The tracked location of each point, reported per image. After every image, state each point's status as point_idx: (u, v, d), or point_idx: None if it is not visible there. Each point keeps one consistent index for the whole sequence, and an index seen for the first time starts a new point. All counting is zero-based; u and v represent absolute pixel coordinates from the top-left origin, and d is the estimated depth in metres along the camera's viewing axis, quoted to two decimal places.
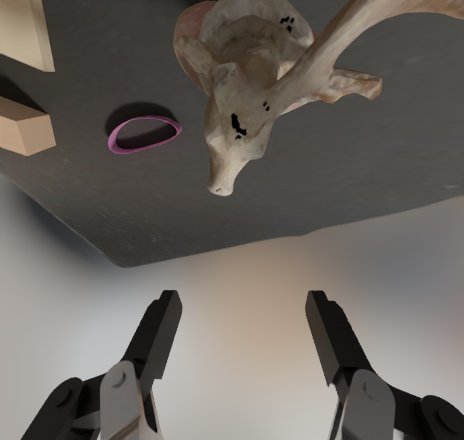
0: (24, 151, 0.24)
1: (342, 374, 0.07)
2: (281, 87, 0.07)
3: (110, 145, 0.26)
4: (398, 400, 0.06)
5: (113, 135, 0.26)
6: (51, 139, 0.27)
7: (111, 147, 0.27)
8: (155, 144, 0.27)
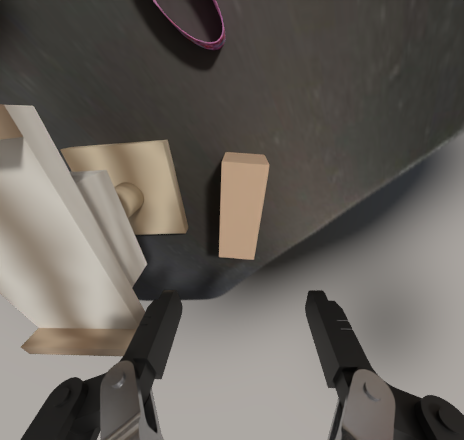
0: (263, 167, 0.17)
1: (342, 374, 0.07)
2: None
3: (216, 42, 0.15)
4: (398, 400, 0.06)
5: (201, 43, 0.15)
6: (255, 155, 0.20)
7: (220, 42, 0.15)
8: None
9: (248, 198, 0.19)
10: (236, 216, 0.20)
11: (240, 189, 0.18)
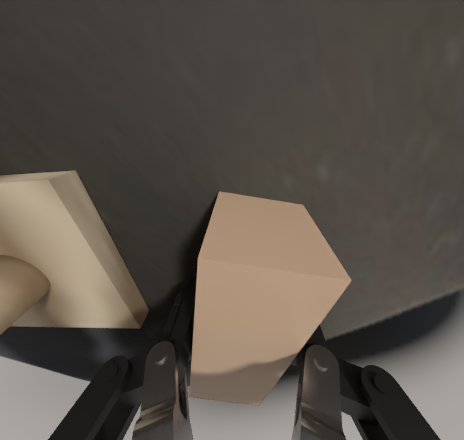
0: (329, 282, 0.05)
1: (300, 350, 0.08)
2: None
3: None
4: (345, 371, 0.07)
5: None
6: (287, 208, 0.09)
7: None
8: None
9: (266, 335, 0.07)
10: (232, 357, 0.08)
11: (247, 318, 0.06)
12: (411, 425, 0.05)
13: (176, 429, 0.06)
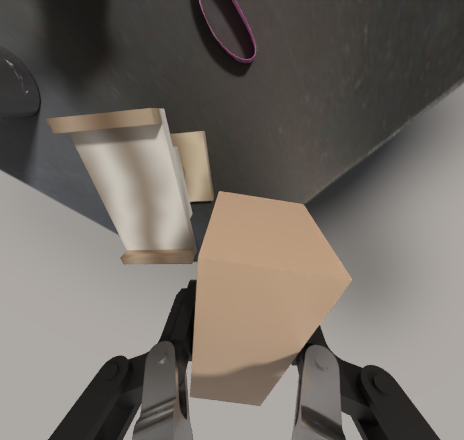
0: (330, 281, 0.05)
1: None
2: None
3: (250, 59, 0.24)
4: (345, 371, 0.07)
5: (240, 59, 0.24)
6: (287, 208, 0.09)
7: (252, 58, 0.24)
8: None
9: (267, 335, 0.07)
10: (233, 357, 0.08)
11: (248, 318, 0.06)
12: (411, 425, 0.05)
13: (176, 429, 0.06)
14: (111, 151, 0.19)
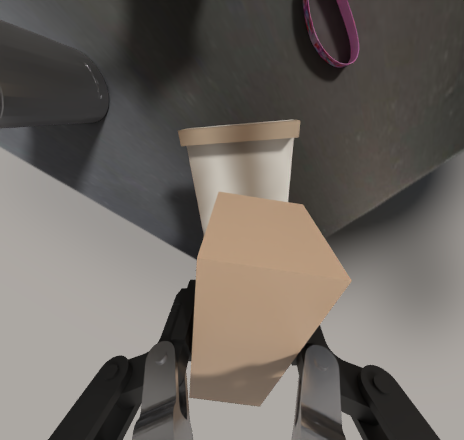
0: (329, 282, 0.05)
1: None
2: None
3: (348, 63, 0.23)
4: (345, 371, 0.07)
5: None
6: (287, 208, 0.09)
7: (350, 63, 0.23)
8: None
9: (266, 336, 0.07)
10: (232, 357, 0.08)
11: (247, 319, 0.06)
12: (411, 425, 0.05)
13: (176, 429, 0.06)
14: (227, 163, 0.18)
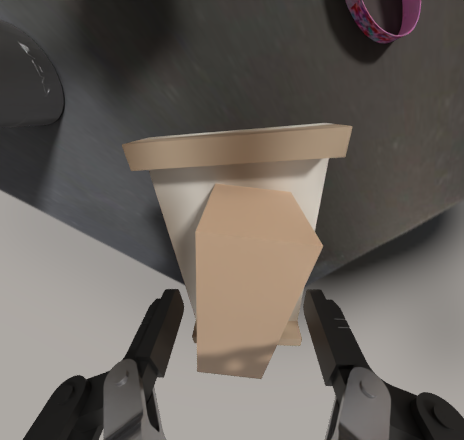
0: (305, 248, 0.06)
1: (339, 372, 0.07)
2: None
3: (400, 35, 0.15)
4: (394, 397, 0.06)
5: None
6: (275, 195, 0.10)
7: (403, 35, 0.16)
8: None
9: (259, 303, 0.08)
10: (232, 327, 0.09)
11: (241, 287, 0.08)
12: None
13: None
14: None
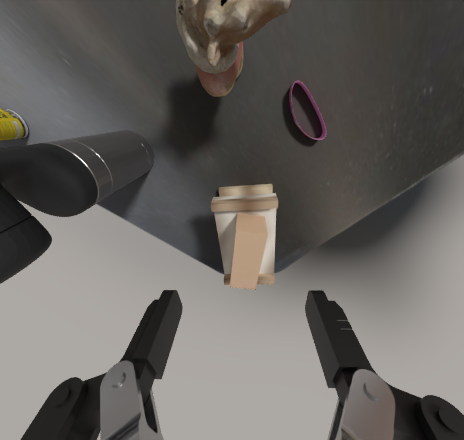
0: (263, 234, 0.25)
1: (342, 374, 0.07)
2: None
3: (320, 139, 0.34)
4: (398, 400, 0.06)
5: None
6: (258, 217, 0.28)
7: (321, 138, 0.34)
8: (312, 102, 0.31)
9: (252, 252, 0.27)
10: (244, 262, 0.28)
11: (247, 246, 0.26)
12: None
13: None
14: None
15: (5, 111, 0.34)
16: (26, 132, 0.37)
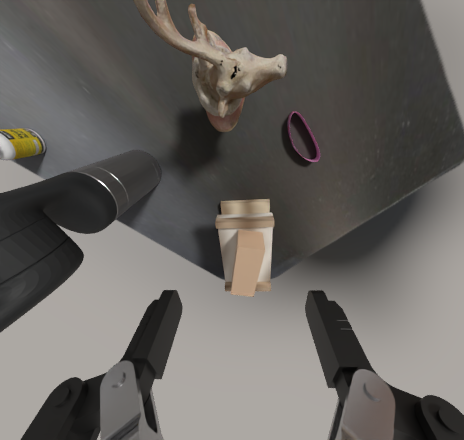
0: (261, 250, 0.29)
1: (342, 374, 0.07)
2: (212, 60, 0.17)
3: (314, 160, 0.38)
4: (398, 400, 0.06)
5: (307, 159, 0.38)
6: (257, 234, 0.32)
7: (316, 160, 0.38)
8: (308, 129, 0.35)
9: (251, 265, 0.31)
10: (244, 273, 0.32)
11: (247, 260, 0.30)
12: None
13: None
14: None
15: (26, 131, 0.37)
16: (44, 149, 0.41)
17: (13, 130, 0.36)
